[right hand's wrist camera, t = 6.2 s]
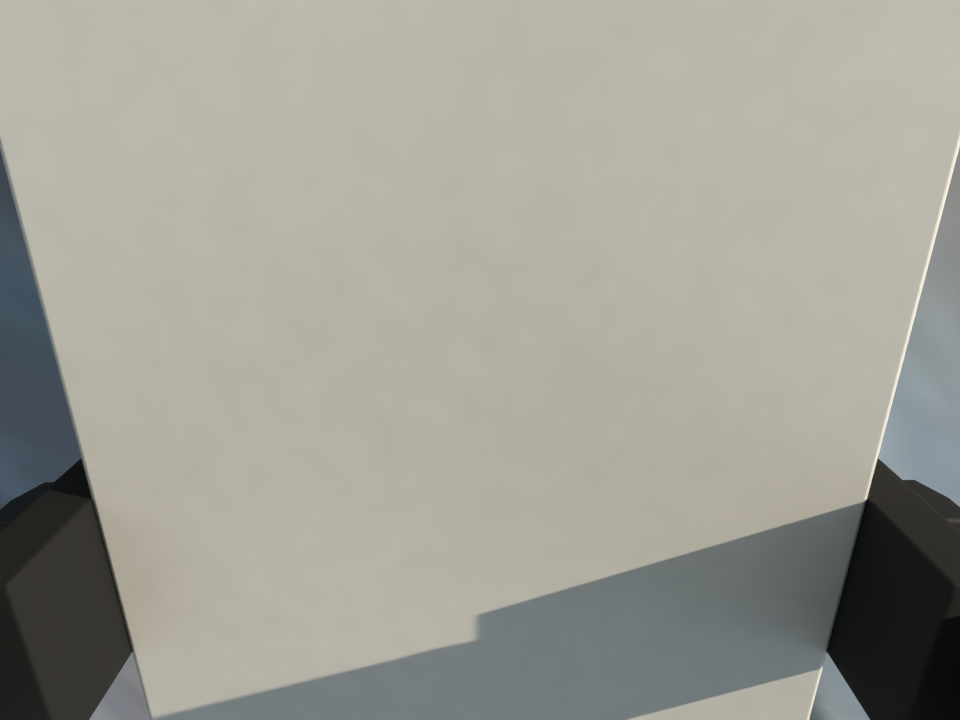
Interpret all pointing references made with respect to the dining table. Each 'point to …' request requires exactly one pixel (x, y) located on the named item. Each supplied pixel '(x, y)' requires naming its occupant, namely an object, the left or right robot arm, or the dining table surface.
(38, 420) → the dining table surface
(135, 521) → the cabinet
